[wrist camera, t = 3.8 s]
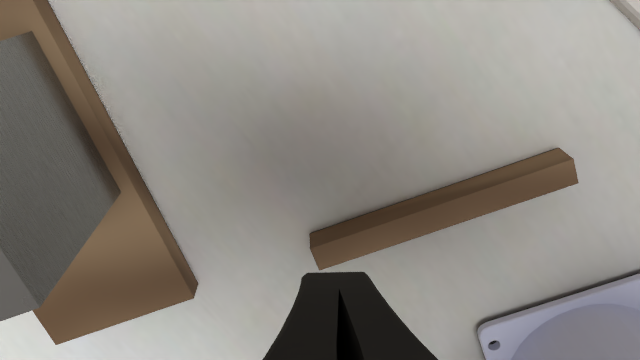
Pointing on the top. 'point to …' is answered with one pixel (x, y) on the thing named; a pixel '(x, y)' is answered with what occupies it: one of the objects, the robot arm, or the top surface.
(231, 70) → the top surface
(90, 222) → the junction box
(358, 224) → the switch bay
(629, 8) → the light switch
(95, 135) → the mounting board
